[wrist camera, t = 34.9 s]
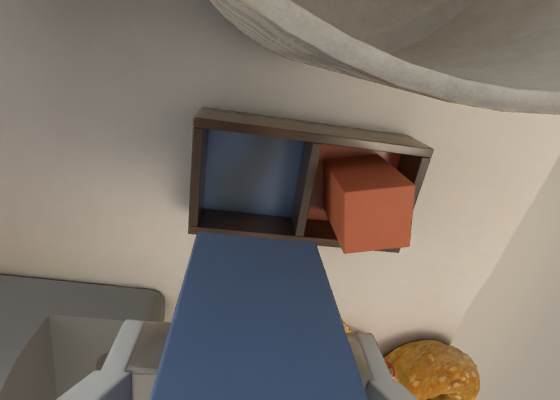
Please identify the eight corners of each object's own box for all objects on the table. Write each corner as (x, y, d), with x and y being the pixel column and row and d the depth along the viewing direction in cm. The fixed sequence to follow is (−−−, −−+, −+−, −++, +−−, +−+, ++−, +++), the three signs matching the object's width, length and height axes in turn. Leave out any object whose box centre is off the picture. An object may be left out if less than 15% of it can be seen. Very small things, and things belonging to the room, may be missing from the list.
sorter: (409, 135, 24) (434, 149, 21) (381, 228, 27) (398, 253, 24) (201, 106, 22) (193, 116, 19) (196, 210, 26) (187, 234, 22)
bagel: (344, 389, 35) (358, 438, 31) (413, 316, 32) (441, 358, 27) (413, 415, 38) (435, 463, 34) (484, 351, 35) (518, 394, 30)
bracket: (160, 372, 32) (119, 517, 22) (-55, 358, 29) (-211, 516, 19) (166, 291, 28) (120, 421, 18) (-80, 266, 25) (-288, 404, 16)
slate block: (296, 329, 13) (329, 530, 8) (191, 323, 13) (146, 535, 7) (316, 241, 12) (375, 414, 6) (197, 230, 11) (145, 410, 6)
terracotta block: (376, 204, 26) (409, 247, 20) (324, 210, 25) (343, 254, 20) (378, 154, 24) (416, 185, 18) (322, 159, 24) (343, 192, 18)
